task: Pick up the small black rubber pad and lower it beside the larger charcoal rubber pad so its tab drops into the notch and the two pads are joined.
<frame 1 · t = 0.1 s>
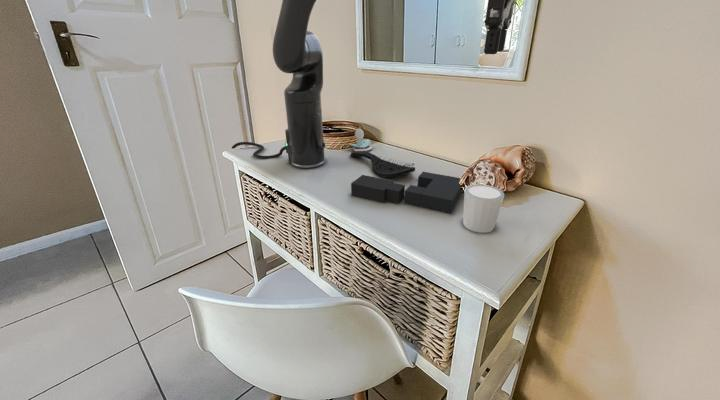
hand: (494, 52, 62), 29 cm above the table, tool pointing down, fingers open, 8 cm apart
hairbrush: (378, 167, 90), on the table
pacifier: (361, 150, 104), on the table
white cylinder: (478, 225, 63), on the table
notch pad: (435, 196, 74), on the table
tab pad: (372, 194, 75), on the table
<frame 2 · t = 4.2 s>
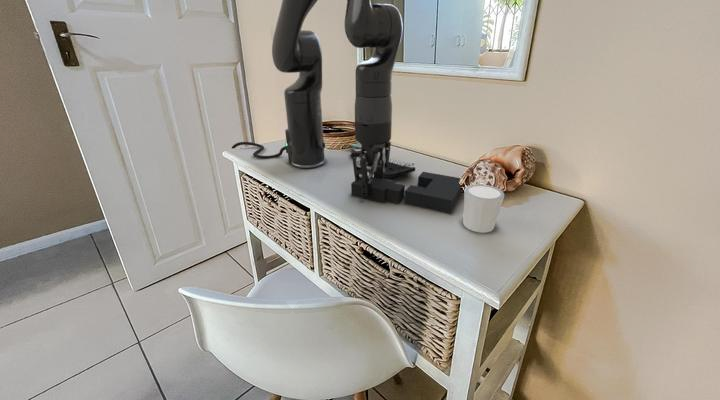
hand: (372, 192, 75), 1 cm above the table, tool pointing down, fingers closed on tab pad, 5 cm apart
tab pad: (372, 194, 75), on the table, touching gripper
everything else where it was.
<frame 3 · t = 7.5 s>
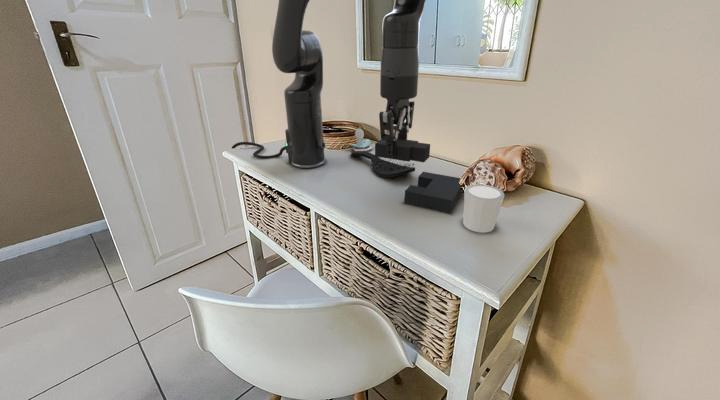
hand: (396, 153, 74), 9 cm above the table, tool pointing down, fingers closed on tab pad, 5 cm apart
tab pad: (396, 155, 74), point 8 cm above the table, touching gripper
everything else where it was.
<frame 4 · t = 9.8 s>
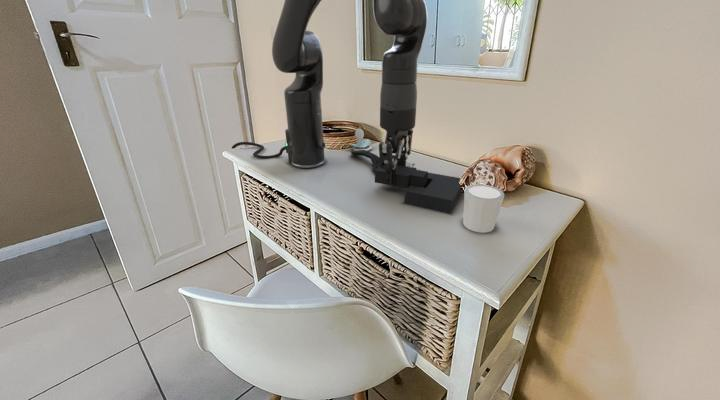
hand: (395, 179, 77), 2 cm above the table, tool pointing down, fingers closed on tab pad, 5 cm apart
hairbrush: (378, 166, 90), on the table, touching gripper
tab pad: (395, 181, 77), point 2 cm above the table, touching gripper
everything else where it was.
when the fingers open (2 cm above the table, at t = 10.9 s): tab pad drops 1 cm, on the table.
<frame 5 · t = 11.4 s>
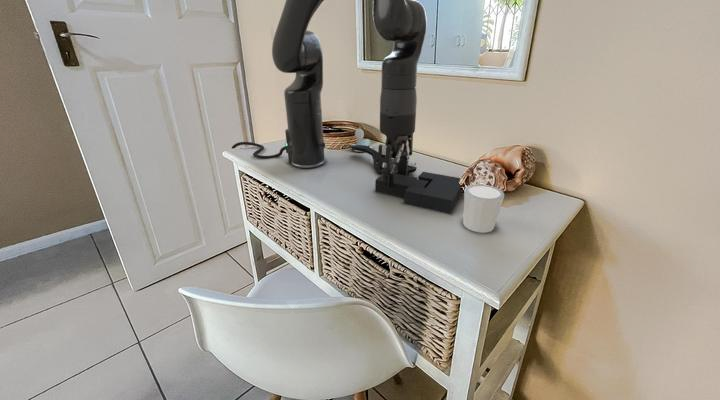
hand: (395, 181, 76), 2 cm above the table, tool pointing down, fingers open, 8 cm apart
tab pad: (395, 190, 77), on the table
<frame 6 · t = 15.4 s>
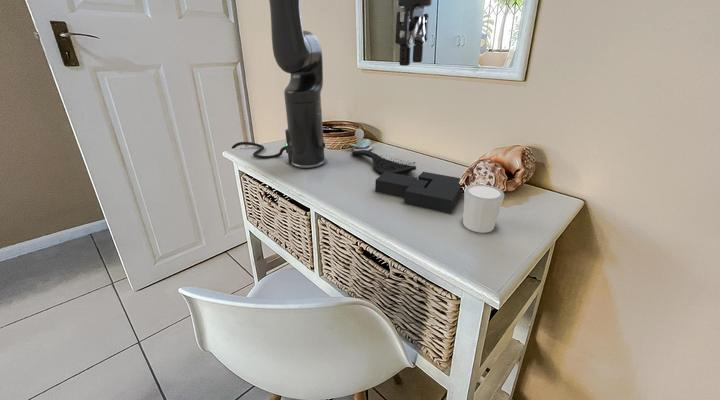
hand: (411, 63, 77), 26 cm above the table, tool pointing down, fingers open, 8 cm apart
hairbrush: (379, 166, 91), on the table
everything else where it was.
at the end: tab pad 0.9 cm from the target spot on the table beside the notch pad, on the table; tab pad tilted 0°; the gripper is holding nothing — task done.
